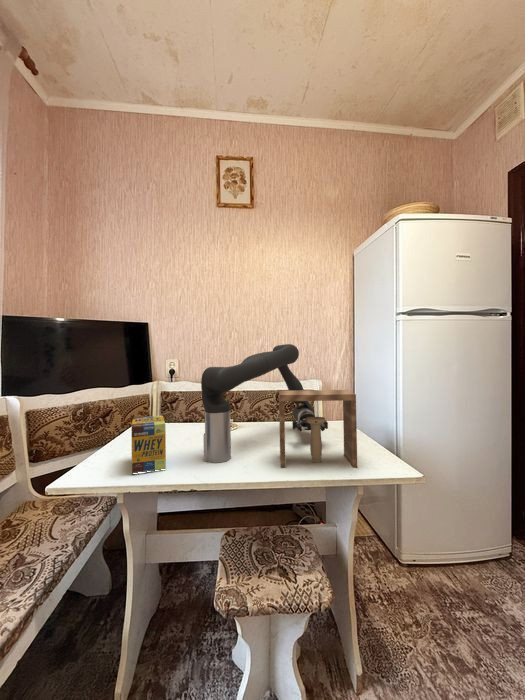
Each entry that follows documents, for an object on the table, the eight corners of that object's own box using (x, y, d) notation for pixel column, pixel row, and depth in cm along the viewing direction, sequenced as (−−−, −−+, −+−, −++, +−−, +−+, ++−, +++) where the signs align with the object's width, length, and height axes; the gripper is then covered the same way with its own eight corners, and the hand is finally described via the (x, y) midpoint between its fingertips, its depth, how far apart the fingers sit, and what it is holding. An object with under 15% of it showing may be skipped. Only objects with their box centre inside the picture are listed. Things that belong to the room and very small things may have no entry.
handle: (326, 464, 101) (325, 419, 101) (307, 463, 101) (306, 419, 101) (324, 459, 105) (324, 416, 106) (306, 458, 106) (305, 416, 106)
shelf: (280, 467, 98) (279, 395, 98) (280, 455, 110) (278, 390, 110) (357, 467, 97) (355, 394, 97) (348, 455, 109) (346, 389, 109)
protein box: (131, 476, 93) (131, 426, 94) (133, 460, 108) (132, 417, 108) (166, 470, 97) (165, 423, 97) (163, 456, 112) (162, 414, 112)
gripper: (290, 411, 131) (293, 419, 115) (323, 410, 130) (330, 418, 114) (291, 428, 131) (293, 438, 115) (323, 427, 130) (330, 438, 114)
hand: (311, 428), depth 114 cm, fingers open, 8 cm apart
